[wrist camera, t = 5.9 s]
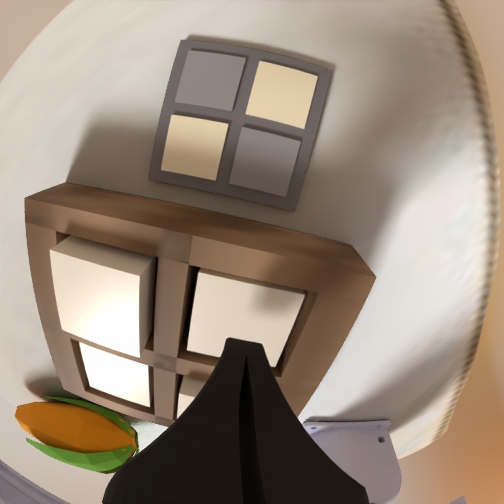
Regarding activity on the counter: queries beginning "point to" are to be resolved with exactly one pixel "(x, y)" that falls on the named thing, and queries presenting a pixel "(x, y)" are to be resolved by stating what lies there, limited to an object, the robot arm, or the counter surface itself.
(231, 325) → the button
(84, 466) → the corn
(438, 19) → the counter surface
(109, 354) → the button
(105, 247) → the button
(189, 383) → the button
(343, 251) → the button board
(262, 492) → the robot arm
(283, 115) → the card
